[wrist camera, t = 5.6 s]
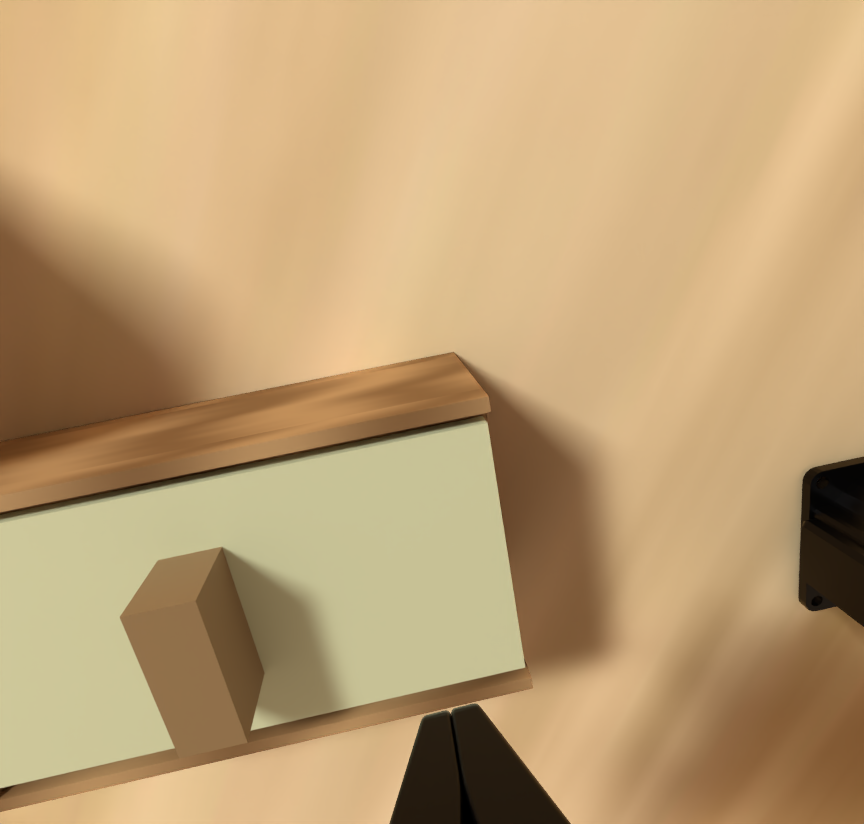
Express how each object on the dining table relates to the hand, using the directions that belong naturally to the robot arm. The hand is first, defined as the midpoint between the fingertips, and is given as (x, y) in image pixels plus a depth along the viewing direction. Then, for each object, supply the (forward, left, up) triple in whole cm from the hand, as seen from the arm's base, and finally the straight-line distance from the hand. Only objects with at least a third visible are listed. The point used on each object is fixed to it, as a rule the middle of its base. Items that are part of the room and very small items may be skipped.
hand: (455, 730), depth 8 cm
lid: (+5, +2, -7) cm, 9 cm away
